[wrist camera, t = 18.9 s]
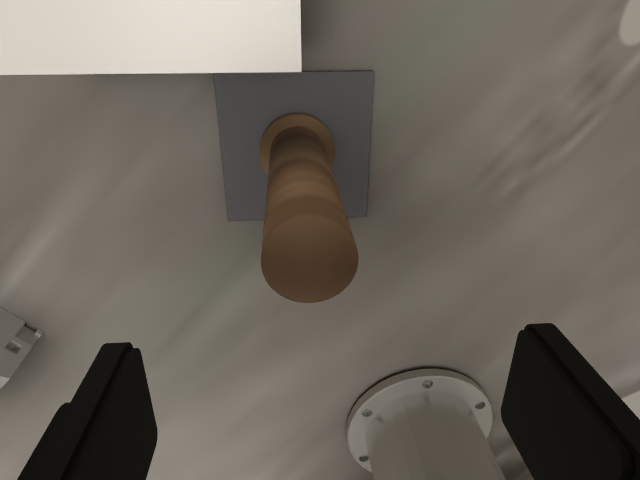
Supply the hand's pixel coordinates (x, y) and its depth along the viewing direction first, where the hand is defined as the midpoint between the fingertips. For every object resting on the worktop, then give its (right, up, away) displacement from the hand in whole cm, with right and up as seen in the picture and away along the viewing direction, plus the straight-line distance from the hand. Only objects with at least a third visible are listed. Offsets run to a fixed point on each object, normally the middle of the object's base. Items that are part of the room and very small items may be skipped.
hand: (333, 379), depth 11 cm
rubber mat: (-2, +9, +17) cm, 19 cm away
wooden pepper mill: (-2, +9, +16) cm, 19 cm away
